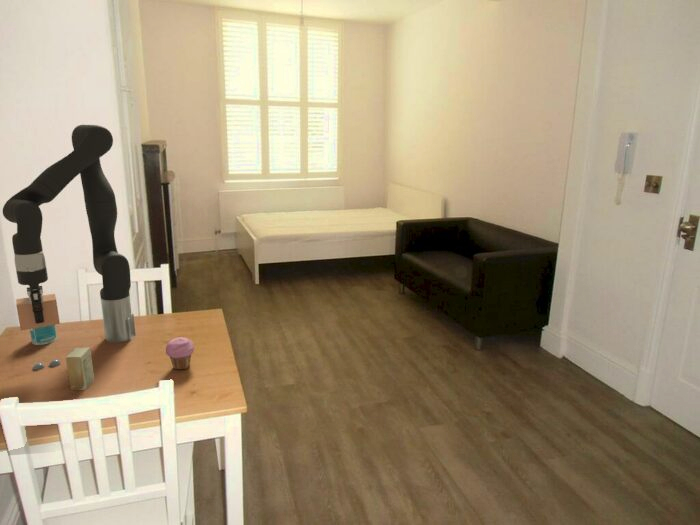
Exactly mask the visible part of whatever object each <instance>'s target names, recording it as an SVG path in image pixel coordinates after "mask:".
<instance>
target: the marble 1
mask: <svg viewBox="0 0 700 525" xmlns="http://www.w3.org/2000/svg"><path fill="white" fill-rule="evenodd" d="M44 368H45V365H44V363H42V362H36V363H35V364H33V366H32V370H33V371H40V370H43V369H44Z"/></svg>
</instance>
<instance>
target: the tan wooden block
mask: <svg viewBox="0 0 700 525" xmlns="http://www.w3.org/2000/svg"><path fill="white" fill-rule="evenodd" d="M42 295H43V294H42ZM15 303H16V304H15V306H16V311H17V317H18V322H19V328H20V331H26V330H27V331H28V330H30V329H33V328H39V327H45V326H50V325H55V326H56V325H60V324H61V323H60V316H59V309H58V303H57V297H56V293H51V294H46V295H45V294H44V295H43V303H42V308H43V317H44V322H43V323H38V324H37V323H36V322H35V316H34V312H33V311H32V310H33V308H32V305H31V304H30V301H29V297H23V298H17V299H16V300H15ZM34 307H35V308H38V307H40V305H34Z"/></svg>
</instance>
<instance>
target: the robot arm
mask: <svg viewBox="0 0 700 525" xmlns="http://www.w3.org/2000/svg"><path fill="white" fill-rule="evenodd" d="M71 143H72V144H71V145H72V148H73V150H72V151H71V152H70V153H69V154H67V155H65V157H62V158H61V159H59V160H57V161H56V162H54V163H53V164H51V165H50V166H48V167H46V169H44V170H43V171H42V172H41V173H40V174H39V175H38V176H37V177H36V178H35V179H34V180H33V181H32V182H31V183H30V184H28V186H26V187H24V188H23V189H21V190H20V191H18V192H17V193H15V194H14V195H12V196H11V197H10V198H9V199H8V200H7V201H5V203H4V205H3V208H2V215H3V217H4V218H5V219H6V220H7V221H8V222H10V223H14V224H16V233H14V234H13V235H12V238H11V239H12V242H11V243H12V248H13V254H14V265H15V266H14V267H15V271H16V278H17V283H18V284H20V286H21V285H22V286H28V287H26V292H27V296H28V298H29V301H30V304H31V305H32V308H33V310H32V311H33V312H34V316H35V322H36V323H37V324H38V323H43V322H44V317H43V308H42V303H43V294H44V291H43V285H41V284H44V283H45V282H47V281H48V280H49V276H48V270H47V269H48V268H47V262H46V258H45V254H44V251H43V250H44V249H43V244H42V239H41V236H42V230H43V220H44V219H43V212H42V210H41V208H40V207H41V205H43V204H48V203H51V202H53V201H54V200H55V198H56V197H57V196H58V195H59V194H60V193H62V191H63V190H64V189H65V188H66V187H67V186H68V185H69V184H70V183H71V182H72V181H73V180H74V179H75V178H76V177H77V176H79V175H80V181H81V187H82V191H83V201H84V205H85V212H86V215H87V220H88V226H89V231H90V236H91V242H92V243H91V244H92V264H93V268H94V270H95V271H96V272H97V273H98V274H99V275H101V277H102V288H101V289H100V290H99V296H100V304H101V314H102V321H103V329H104V338H105V341H106V342H107V343H111V344H117V343H118V344H119V343H124V342H127V341H132V340H133V338H134V337H136V336H137V335H136V326H135V316H134V312H132V307H131V306H132V304H131V294H130V290H131V282H132V279H131V270H130V269H131V267H130V264H129V260H128V259H127V258H126V256H125V255H123V254H121V253H119V252H118V249H117V244H116V238H115V230H116V229H115V228H116V225H117V221H118V206H117V200H116V195H115V191H114V190H113V187H112V185H111V183H110V182H109V180H108V178H107V176H105V173H104V171H103V168H102V164H101V160H100V159H101V157H103V156H104V155H106V154H107V153H108V152H109V151H110V150H111V149H112V147H113V144H114V138H113V134H112V133H111V131H110V130H109V129H108V128H106V126H103V125H98V124H80V125H76V126H75V127H74V128H73V130H72V132H71ZM34 305H40V307H38V308H35V307H34Z"/></svg>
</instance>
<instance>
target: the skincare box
mask: <svg viewBox="0 0 700 525" xmlns="http://www.w3.org/2000/svg"><path fill="white" fill-rule="evenodd" d="M92 359H93V358H92V353H91V347H75V348H73V349H72V350H71V351H70V352H69V353H68V355H66V356H65V360H66V362H65V363H66V368H67V372H68V373H67V376H68V381H69V387H70V388H69V389H70V390H71V391H86V390H87V389H88V388H89V387H90V386H91V385H92V383H93V382H94V381H95V374H94V367H93V360H92Z"/></svg>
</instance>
